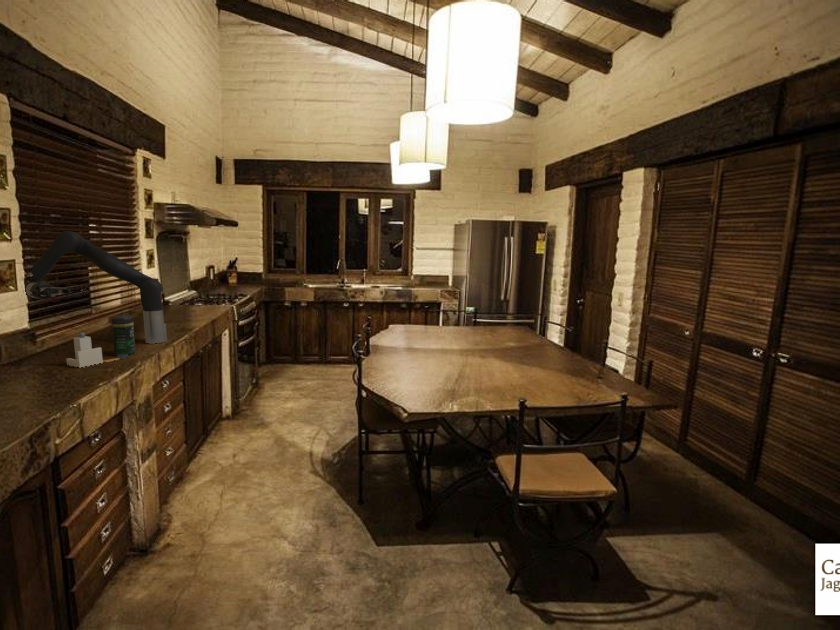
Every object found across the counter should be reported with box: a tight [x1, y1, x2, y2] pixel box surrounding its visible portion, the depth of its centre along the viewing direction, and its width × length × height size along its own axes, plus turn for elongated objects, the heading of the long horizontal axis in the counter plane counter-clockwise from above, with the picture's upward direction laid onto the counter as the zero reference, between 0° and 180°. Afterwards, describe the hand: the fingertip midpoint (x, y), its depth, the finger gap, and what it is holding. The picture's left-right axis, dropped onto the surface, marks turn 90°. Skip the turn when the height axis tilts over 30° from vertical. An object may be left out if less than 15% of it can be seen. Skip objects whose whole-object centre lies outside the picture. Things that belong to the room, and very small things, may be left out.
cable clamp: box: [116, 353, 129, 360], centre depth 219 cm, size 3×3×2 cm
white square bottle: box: [73, 331, 93, 360], centre depth 208 cm, size 4×4×14 cm
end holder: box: [65, 347, 104, 369], centre depth 208 cm, size 10×9×7 cm
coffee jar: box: [111, 314, 137, 356], centre depth 226 cm, size 10×8×19 cm
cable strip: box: [103, 357, 122, 363], centre depth 215 cm, size 10×5×1 cm, turn 154°
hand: (59, 292), depth 216 cm, fingers open, 8 cm apart
